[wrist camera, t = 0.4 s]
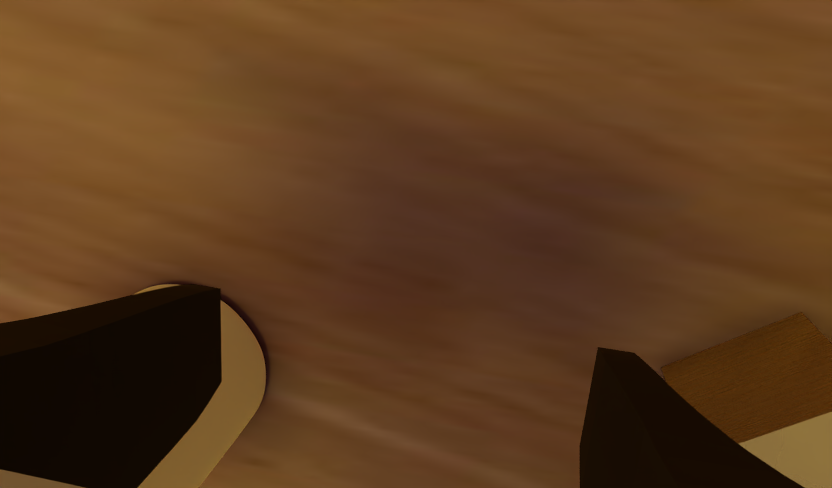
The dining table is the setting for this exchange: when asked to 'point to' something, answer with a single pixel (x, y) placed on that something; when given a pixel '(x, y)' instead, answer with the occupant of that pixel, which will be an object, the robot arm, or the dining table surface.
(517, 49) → the dining table surface
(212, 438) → the can
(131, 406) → the robot arm
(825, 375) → the tab
